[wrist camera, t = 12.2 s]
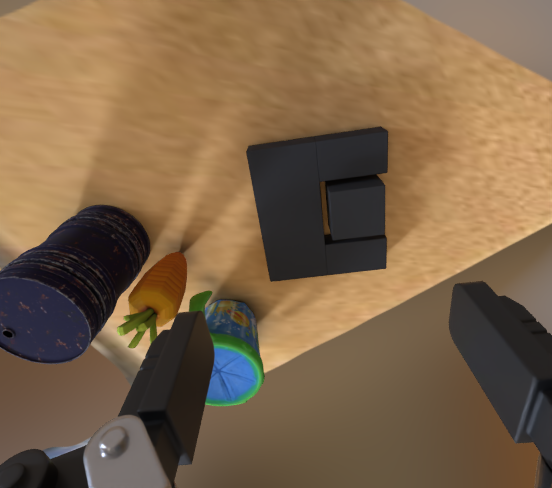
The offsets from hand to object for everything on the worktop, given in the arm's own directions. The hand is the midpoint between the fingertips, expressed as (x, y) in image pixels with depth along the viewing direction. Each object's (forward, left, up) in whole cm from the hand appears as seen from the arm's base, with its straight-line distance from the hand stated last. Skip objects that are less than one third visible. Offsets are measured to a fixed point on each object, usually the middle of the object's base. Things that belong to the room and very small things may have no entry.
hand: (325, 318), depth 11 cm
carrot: (+12, -16, -28) cm, 35 cm away
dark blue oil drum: (+9, -24, -28) cm, 38 cm away
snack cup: (+23, -12, -28) cm, 38 cm away
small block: (+8, +6, -28) cm, 30 cm away
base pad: (+8, +2, -28) cm, 29 cm away
